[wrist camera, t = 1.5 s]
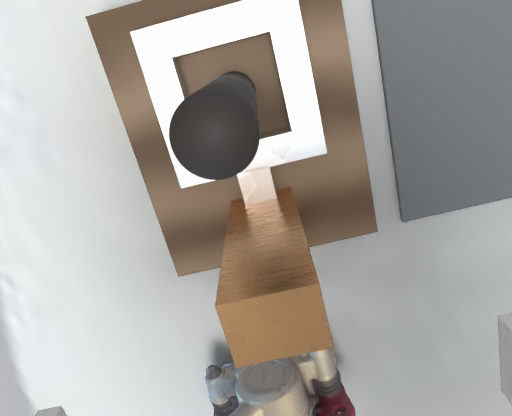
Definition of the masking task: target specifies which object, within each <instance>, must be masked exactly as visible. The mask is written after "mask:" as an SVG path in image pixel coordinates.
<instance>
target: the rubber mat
mask: <svg viewBox="0 0 512 416" xmlns="http://www.w3.org/2000/svg"><path fill="white" fill-rule="evenodd" d="M372 5H373V13H374V20H375V28H376V35H377V43H378V50H379V57H380V65H381V72H382V80H383V87H384V94H385V102H386V109H387V117H388V124H389V131H390V139H391V146H392V154H393V161H394V169H395V176H396V183H397V191H398V198H399V206H400V213H401V220H402V221H403V222H406V221H410V220H414V219H419V218H423V217H428V216H432V215H436V214H441V213H445V212H450V211H454V210H458V209H463V208H467V207H472V206H476V205H481V204H485V203H489V202H494V201H498V200H503V199H507V198H511V197H512V0H372Z"/></svg>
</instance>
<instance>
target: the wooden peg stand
mask: <svg viewBox="0 0 512 416" xmlns="http://www.w3.org/2000/svg"><path fill="white" fill-rule="evenodd" d="M240 1H244V0H144V1H140V2H136V3H133V4H129V5H126V6H122V7H119V8H115V9H111V10H108V11H104V12H101V13H97V14H94V15H90V16H87V17H86V19H87V22H88V25H89V27H90V30H91V33H92V36H93V39H94V41H95V44H96V47H97V50H98V53H99V55H100V58H101V61H102V64H103V67H104V69H105V72H106V75H107V78H108V81H109V83H110V86H111V89H112V92H113V95H114V97H115V100H116V103H117V106H118V109H119V111H120V114H121V117H122V120H123V123H124V125H125V128H126V131H127V134H128V137H129V139H130V142H131V145H132V148H133V151H134V153H135V156H136V159H137V162H138V165H139V167H140V170H141V173H142V176H143V179H144V182H145V184H146V187H147V190H148V193H149V196H150V198H151V201H152V204H153V207H154V210H155V212H156V215H157V218H158V221H159V224H160V226H161V229H162V232H163V235H164V238H165V240H166V243H167V246H168V249H169V252H170V254H171V257H172V260H173V263H174V266H175V268H176V271H177V274H178V277H179V276H184V275H188V274H193V273H197V272H202V271H206V270H210V269H215V268H219V267H221V264H222V257H223V251H224V244H225V237H226V230H227V224H228V217H229V210H230V203H231V201H234V200H238V199H242V198H243V195H242V192H241V188H240V184H239V181H238V177H237V174H239V173H240V172H242V171H243V170H244V169H246V168H247V167H248V166H249V164H250V163H251V162H252V160H253V159H254V157H255V155H256V153H257V150H258V146H259V140H260V135H261V134H265V133H269V132H273V131H277V130H281V129H285V128H289V127H290V126H289V121H288V117H287V112H286V108H285V103H284V99H283V94H282V89H281V85H280V80H279V76H278V71H277V66H276V62H275V57H274V53H273V48H272V44H271V39H270V34H269V33H265V34H262V35H258V36H254V37H251V38H247V39H243V40H239V41H236V42H232V43H228V44H224V45H221V46H217V47H213V48H210V49H206V50H202V51H198V52H195V53H191V54H187V55H183V56H180V57H176V58H177V61H178V65H179V68H180V71H181V75H182V78H183V82H184V85H185V88H186V92H187V95H188V97H187V98H185V99H184V100H183V101H182V102H181V103H180V104H179V105H178V107H177V108H176V110H175V111H174V113H173V115H172V118H171V121H170V125H169V142H170V145H171V149H172V151H173V153H174V155H175V157H176V159H177V160H178V161H179V163H180V164H181V165H182V166H183V167H184V168H185V169H186V170H188V171H189V172H191V173H192V174H194V175H196V176H198V177H201V178H204V179H209V180H215V181H210V182H206V183H202V184H198V185H194V186H190V187H186V188H182V189H181V187H180V184H179V181H178V178H177V175H176V172H175V168H174V165H173V162H172V159H171V156H170V153H169V150H168V147H167V144H166V141H165V138H164V135H163V132H162V129H161V126H160V123H159V119H158V116H157V113H156V110H155V107H154V104H153V101H152V98H151V95H150V92H149V89H148V86H147V83H146V80H145V77H144V74H143V70H142V67H141V64H140V61H139V58H138V55H137V52H136V49H135V46H134V43H133V40H132V37H131V34H130V32H131V31H135V30H139V29H142V28H146V27H149V26H153V25H157V24H160V23H164V22H168V21H171V20H175V19H178V18H182V17H186V16H189V15H193V14H197V13H200V12H204V11H207V10H211V9H215V8H218V7H222V6H226V5H229V4H233V3H237V2H240ZM298 2H299V7H300V13H301V18H302V23H303V28H304V34H305V39H306V44H307V49H308V55H309V60H310V65H311V70H312V76H313V81H314V86H315V91H316V97H317V102H318V107H319V112H320V118H321V123H322V128H323V133H324V138H325V144H326V149H327V153H326V154H322V155H318V156H313V157H309V158H305V159H301V160H297V161H293V162H289V163H285V164H280V165H276V166H272V167H270V169H271V173H272V177H273V182H274V186H275V190H280V189H284V188H288V187H291V189H292V193H293V196H294V199H295V203H296V206H297V210H298V213H299V216H300V220H301V223H302V227H303V230H304V233H305V237H306V240H307V244H308V247H312V246H317V245H321V244H325V243H330V242H334V241H339V240H343V239H348V238H352V237H356V236H361V235H365V234H370V233H374V232H378V230H377V224H376V218H375V211H374V205H373V199H372V192H371V186H370V180H369V173H368V167H367V161H366V154H365V148H364V142H363V136H362V129H361V123H360V117H359V110H358V104H357V98H356V91H355V85H354V79H353V72H352V66H351V60H350V53H349V47H348V41H347V34H346V28H345V22H344V15H343V9H342V3H341V0H298Z"/></svg>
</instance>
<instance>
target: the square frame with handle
mask: <svg viewBox="0 0 512 416" xmlns="http://www.w3.org/2000/svg"><path fill="white" fill-rule="evenodd" d="M265 33H269V34H270V39H271V44H272V48H273V53H274V57H275V62H276V66H277V71H278V76H279V80H280V85H281V89H282V94H283V99H284V103H285V108H286V112H287V117H288V121H289V126H290V127H289V128H285V129H281V130H277V131H273V132H269V133H265V134H261V135H260V140H259V146H258V150H257V153H256V155H255V157H254V159H253V160H252V162H251V163H250V164H249V166H248V167H247V168H246V169H244V170H243V171H242V172H240V173H239V174H237V177H238V181H239V184H240V188H241V192H242V195H243V198H242V199H238V200H234V201H231V203H230V210H229V217H228V224H227V230H226V237H225V244H224V251H223V257H222V264H221V271H220V278H219V284H218V291H217V298H216V305H215V307H216V310H217V313H218V316H219V319H220V322H221V325H222V328H223V331H224V334H225V337H226V340H227V343H228V346H229V349H230V352H231V355H232V358H233V361H234V364H235V367H236V368H238V367H243V366H248V365H252V364H257V363H262V362H267V361H272V360H277V359H282V358H286V357H291V356H296V355H301V354H306V353H311V352H316V351H320V350H325V349H330V348H334V347H333V343H332V338H331V334H330V329H329V325H328V320H327V316H326V311H325V307H324V303H323V298H322V294H321V289H320V285H319V281H318V277H317V274H316V271H315V267H314V264H313V261H312V257H311V254H310V250H309V247H308V244H307V240H306V237H305V233H304V230H303V227H302V223H301V220H300V216H299V213H298V210H297V206H296V203H295V199H294V196H293V193H292V189H291V187H288V188H284V189H280V190H275V186H274V182H273V177H272V173H271V169H270V167H272V166H276V165H280V164H285V163H289V162H293V161H297V160H301V159H305V158H309V157H313V156H318V155H322V154H326V153H327V149H326V144H325V138H324V133H323V128H322V123H321V118H320V112H319V107H318V102H317V97H316V91H315V86H314V81H313V76H312V70H311V65H310V60H309V55H308V49H307V44H306V39H305V34H304V28H303V23H302V18H301V13H300V7H299V2H298V0H244V1H240V2H237V3H233V4H229V5H226V6H222V7H218V8H215V9H211V10H207V11H204V12H200V13H197V14H193V15H189V16H186V17H182V18H178V19H175V20H171V21H168V22H164V23H160V24H157V25H153V26H149V27H146V28H142V29H139V30H135V31H131V32H130V34H131V37H132V40H133V43H134V46H135V49H136V52H137V55H138V58H139V61H140V64H141V67H142V70H143V74H144V77H145V80H146V83H147V86H148V89H149V92H150V95H151V98H152V101H153V104H154V107H155V110H156V113H157V116H158V119H159V123H160V126H161V129H162V132H163V135H164V138H165V141H166V144H167V147H168V150H169V153H170V156H171V159H172V162H173V165H174V168H175V172H176V175H177V178H178V181H179V184H180V187H181V189H182V188H186V187H190V186H194V185H198V184H202V183H206V182H210V181H215V180H209V179H204V178H201V177H198V176H196V175H194V174H192V173H191V172H189V171H188V170H186V169H185V168H184V167H183V166H182V165H181V164H180V163H179V161H178V160H177V159H176V157H175V155H174V153H173V151H172V149H171V145H170V142H169V125H170V121H171V118H172V115H173V113H174V111H175V110H176V108H177V107H178V105H179V104H180V103H181V102H182V101H183V100H184V99H185V98H187V97H188V95H187V92H186V88H185V85H184V82H183V78H182V75H181V71H180V68H179V65H178V61H177V58H176V57H180V56H183V55H187V54H191V53H195V52H198V51H202V50H206V49H210V48H213V47H217V46H221V45H224V44H228V43H232V42H236V41H239V40H243V39H247V38H251V37H254V36H258V35H262V34H265Z"/></svg>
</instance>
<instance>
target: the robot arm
mask: <svg viewBox="0 0 512 416" xmlns="http://www.w3.org/2000/svg"><path fill="white" fill-rule="evenodd" d="M498 330H499V353H500V375H501V390H502V392H503V393H504V395H505V396H506V397H507V399H508V400H509V401H510V403H511V404H512V313H511V314H506V315H501V316H498ZM35 416H67V415H66V413H65V411H64V410H63V408H62V406H58V407H53V408H48V409H44V410H39V411H38V412H37V413H36V415H35Z"/></svg>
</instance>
